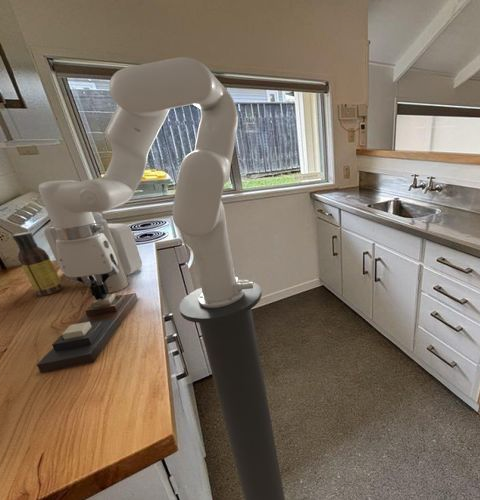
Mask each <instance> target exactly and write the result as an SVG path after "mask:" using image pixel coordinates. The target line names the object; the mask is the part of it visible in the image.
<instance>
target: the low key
mask: <svg viewBox="0 0 480 500" xmlns="http://www.w3.org/2000/svg"><path fill="white" fill-rule="evenodd" d="M115 296H116V295H115V293H109V294H108V295H107V296H106V297H105V298H104V299H99V300H96V299H94V301H93V302H92V303H93V305H94V307H99V306H105V305H111V304H112V303H113V302H114V301H115V300H116V297H115Z"/></svg>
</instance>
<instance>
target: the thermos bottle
mask: <svg viewBox="0 0 480 500" xmlns="http://www.w3.org/2000/svg"><path fill="white" fill-rule="evenodd" d="M92 214H93V217H94V220H95V222H96V223H97V225H103V227H104V230H103V231H99V233H103V234H104V235H105V237H106V238H107V240H108V242H109V243H110V245H111V247H112V249H113V251H114V253H115V256H116V258H117V261H118V265H117V266H116V267H117V269H118V270H119V273H118V274H117V275H114V276H111V277H109V278H108V279H107V280H106V281H105V282H106V285H107V288H108V290H109V292H108V294H113V293H115V292H119V291H121V290H124V289H125V288H126V287H128V285H129V283H128V280H127V277H126V275H125V274H124V271H123V268H122V265H121V263H120V260H119V257H118V253H117V251H116V248H115V245H114V242H113V239H112V236H111V233H110V230H109V227H108V224H109V223H108V221H107V220H106V219H103V215H102V212H92ZM94 277H95V279H96V276H95V275H94Z"/></svg>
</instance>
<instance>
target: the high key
mask: <svg viewBox="0 0 480 500" xmlns="http://www.w3.org/2000/svg"><path fill="white" fill-rule="evenodd" d="M91 328H92V326H91V324H90V322H85V323H79V324H76V323H74V324H70V325H69V326H68V327H67V328H66V329H65V330H64V331H63V332H62V333H61V335H63V338H64V340H65V339H70V338H76V337H81V336H85V335H86V334H87V333H88V331H89V330H90V329H91Z"/></svg>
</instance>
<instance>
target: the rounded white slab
mask: <svg viewBox="0 0 480 500" xmlns="http://www.w3.org/2000/svg"><path fill="white" fill-rule="evenodd" d="M107 224H108V227H109V230H110V233H111V236H112V239H113V242H114V245H115V248H116V251H117V253H118V257H119V260H120V263H121V265H122V268H123V271H124V274H125V276H129V275H132V274H133V273H135V272H137V271H139V270H140V269H142V268H143V262H142V259H141V256H140V251H139V249H138V246H137V242H135V241H136V238H135V239H134V236H135V235H134V236H133V233H134V232H133V230H132V228H131V227H130V226H129V225H128V224H126V223H107ZM43 232H44V236H45V239H46V241H47V243H48V245H49V247H50V250H51V252H52V254H53V257H54V259H55V261H56V264H57V266H58V269H60V270H59V271H60V272H62V273H64V272H63V270H62V268H61V265H60V262H59V258H58V254H57V248H56V240H58V237H57V235H56V232H55V230H54V227H53V226H49V227H45V230H44V231H43ZM132 232H133V233H132Z"/></svg>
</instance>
